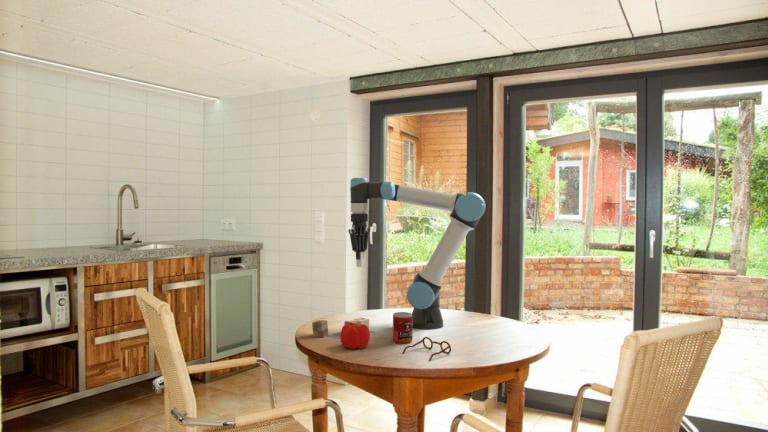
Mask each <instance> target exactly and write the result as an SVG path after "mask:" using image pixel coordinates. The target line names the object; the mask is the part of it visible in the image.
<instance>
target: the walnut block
mask: <svg viewBox="0 0 768 432" xmlns="http://www.w3.org/2000/svg"><path fill="white" fill-rule="evenodd" d="M311 325H312V336H313V338H315V337H316V338H325V337H327V335H329V330H328V329H329V327H328V320H323V319H320V320H315V321H313V322H311Z"/></svg>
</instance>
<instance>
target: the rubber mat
mask: <svg viewBox="0 0 768 432" xmlns="http://www.w3.org/2000/svg"><path fill="white" fill-rule="evenodd" d="M369 333H370V334H373V333H375V331H374V330H369ZM340 335H341V331H339V332H334V333H330V334H328V335H327V336H326V337H328V338H333V339H337V340H340V341H341V339H340Z"/></svg>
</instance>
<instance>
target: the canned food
mask: <svg viewBox="0 0 768 432" xmlns="http://www.w3.org/2000/svg"><path fill="white" fill-rule="evenodd" d="M392 341H393V342H394V343H395V344H399V345H408V344H411V343H412V341H413V327H412V312H406V311H397V312H394V313H392Z"/></svg>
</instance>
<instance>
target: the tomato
mask: <svg viewBox="0 0 768 432" xmlns="http://www.w3.org/2000/svg"><path fill="white" fill-rule="evenodd" d="M369 331H370V328H369V329H368V327H367V326H366V325H365V324H362V325H360V326H358V324H356V323H352V322H350V324H345V325H343V326H342V328H341V330H340V332H341V335H340V339H341V340H340V339H339V340H340V343H341V345H342V346H343V347H345V348H347V349H350V350H354V349H359V350H362V349H366V348H367V346H368V344H369V342H370V338H371V337H370V336H371V333H369Z"/></svg>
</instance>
